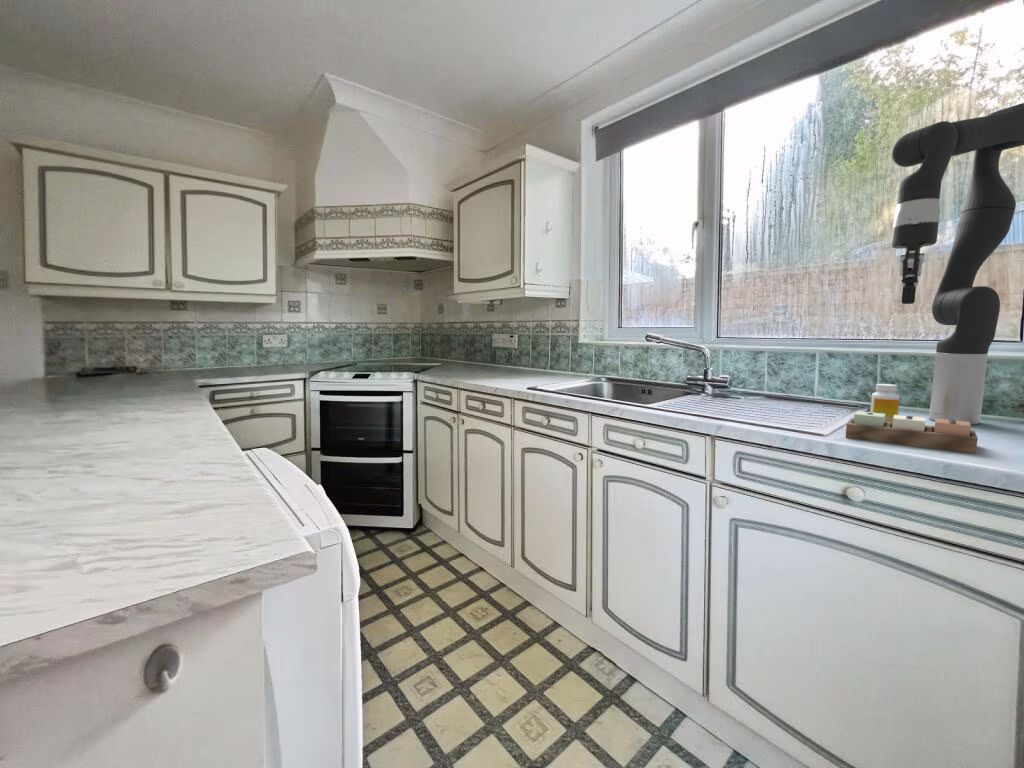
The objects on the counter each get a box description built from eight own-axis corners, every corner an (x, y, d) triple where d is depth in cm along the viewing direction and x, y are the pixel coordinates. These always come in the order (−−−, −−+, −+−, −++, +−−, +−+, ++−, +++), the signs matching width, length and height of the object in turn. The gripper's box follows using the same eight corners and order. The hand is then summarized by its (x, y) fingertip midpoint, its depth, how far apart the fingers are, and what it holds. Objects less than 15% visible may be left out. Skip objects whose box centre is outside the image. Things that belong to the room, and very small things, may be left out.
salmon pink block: (933, 441, 91) (935, 421, 91) (933, 437, 95) (935, 417, 94) (968, 446, 88) (970, 424, 87) (966, 441, 92) (969, 420, 91)
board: (845, 437, 99) (846, 423, 99) (850, 430, 106) (852, 417, 106) (975, 454, 86) (977, 438, 86) (972, 444, 92) (974, 430, 92)
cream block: (891, 436, 96) (893, 417, 95) (892, 432, 99) (894, 413, 99) (923, 440, 92) (925, 420, 92) (923, 436, 96) (925, 416, 95)
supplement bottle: (902, 426, 110) (906, 386, 109) (876, 425, 111) (880, 385, 110) (888, 421, 115) (892, 383, 114) (864, 420, 116) (868, 383, 115)
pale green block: (852, 432, 100) (854, 413, 99) (855, 428, 104) (857, 410, 103) (881, 435, 97) (883, 416, 96) (883, 431, 100) (885, 412, 100)
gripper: (895, 231, 108) (888, 305, 110) (891, 221, 98) (884, 303, 100) (938, 226, 103) (930, 304, 105) (939, 215, 93) (930, 302, 95)
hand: (907, 303), depth 103 cm, fingers closed
